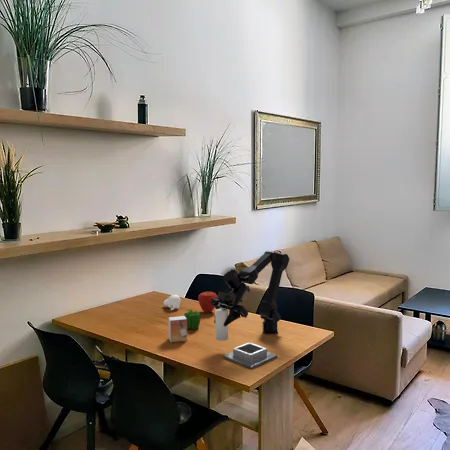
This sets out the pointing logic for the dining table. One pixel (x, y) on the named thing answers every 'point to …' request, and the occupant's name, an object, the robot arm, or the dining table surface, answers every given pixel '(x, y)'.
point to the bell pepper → (192, 319)
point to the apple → (207, 301)
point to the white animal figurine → (172, 302)
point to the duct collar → (250, 355)
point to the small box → (177, 329)
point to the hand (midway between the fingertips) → (219, 324)
